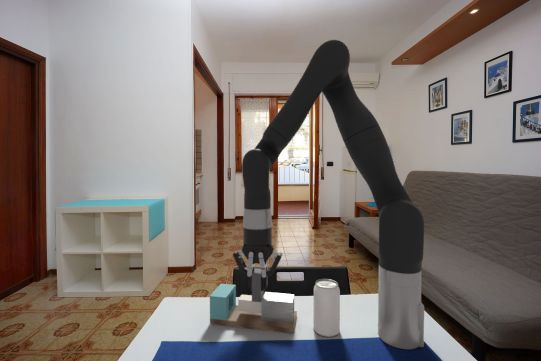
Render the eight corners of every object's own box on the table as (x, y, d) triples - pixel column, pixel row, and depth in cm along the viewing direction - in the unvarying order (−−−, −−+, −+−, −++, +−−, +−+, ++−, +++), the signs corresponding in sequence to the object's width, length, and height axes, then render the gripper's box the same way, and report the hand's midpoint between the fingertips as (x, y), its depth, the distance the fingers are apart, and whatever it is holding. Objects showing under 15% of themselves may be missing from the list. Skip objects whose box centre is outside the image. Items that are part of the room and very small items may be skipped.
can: (340, 339, 65) (340, 289, 64) (312, 336, 66) (313, 287, 66) (339, 324, 71) (339, 279, 71) (314, 321, 72) (314, 277, 72)
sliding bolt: (292, 309, 73) (292, 270, 73) (290, 316, 69) (290, 275, 69) (241, 304, 76) (241, 267, 75) (238, 311, 72) (237, 272, 72)
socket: (235, 305, 78) (235, 284, 78) (226, 320, 70) (226, 297, 70) (221, 303, 79) (220, 283, 79) (209, 318, 71) (209, 296, 71)
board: (296, 316, 75) (296, 311, 75) (293, 333, 67) (293, 327, 67) (221, 309, 79) (221, 303, 79) (210, 324, 71) (209, 318, 71)
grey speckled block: (294, 313, 74) (294, 294, 73) (292, 323, 69) (292, 302, 69) (265, 311, 75) (265, 291, 75) (261, 320, 70) (261, 299, 70)
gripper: (285, 223, 75) (285, 285, 75) (236, 221, 77) (237, 281, 78) (281, 229, 67) (281, 298, 68) (227, 227, 70) (228, 293, 70)
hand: (257, 289), depth 73 cm, fingers closed on sliding bolt, 2 cm apart
